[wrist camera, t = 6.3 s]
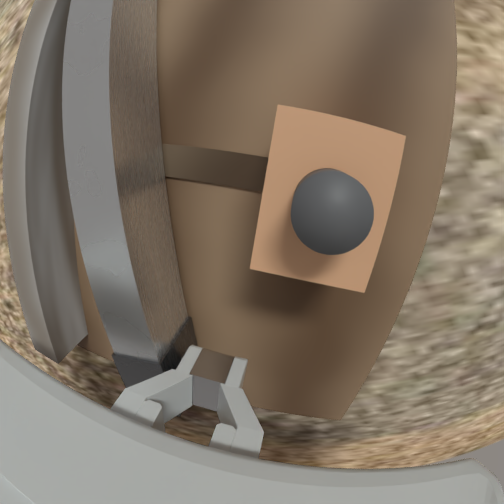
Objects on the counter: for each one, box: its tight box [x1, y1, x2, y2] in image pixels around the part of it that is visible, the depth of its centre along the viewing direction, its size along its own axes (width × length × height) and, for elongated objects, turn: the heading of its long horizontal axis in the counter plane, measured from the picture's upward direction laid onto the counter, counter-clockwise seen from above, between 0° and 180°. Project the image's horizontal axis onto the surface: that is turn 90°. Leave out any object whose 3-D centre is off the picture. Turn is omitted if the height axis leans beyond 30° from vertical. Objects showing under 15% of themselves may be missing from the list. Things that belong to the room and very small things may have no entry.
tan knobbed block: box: [250, 105, 406, 293], centre depth 7 cm, size 3×4×4 cm
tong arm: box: [62, 0, 198, 417], centre depth 8 cm, size 2×20×3 cm, turn 4°
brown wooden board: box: [3, 0, 457, 420], centre depth 8 cm, size 19×25×5 cm
